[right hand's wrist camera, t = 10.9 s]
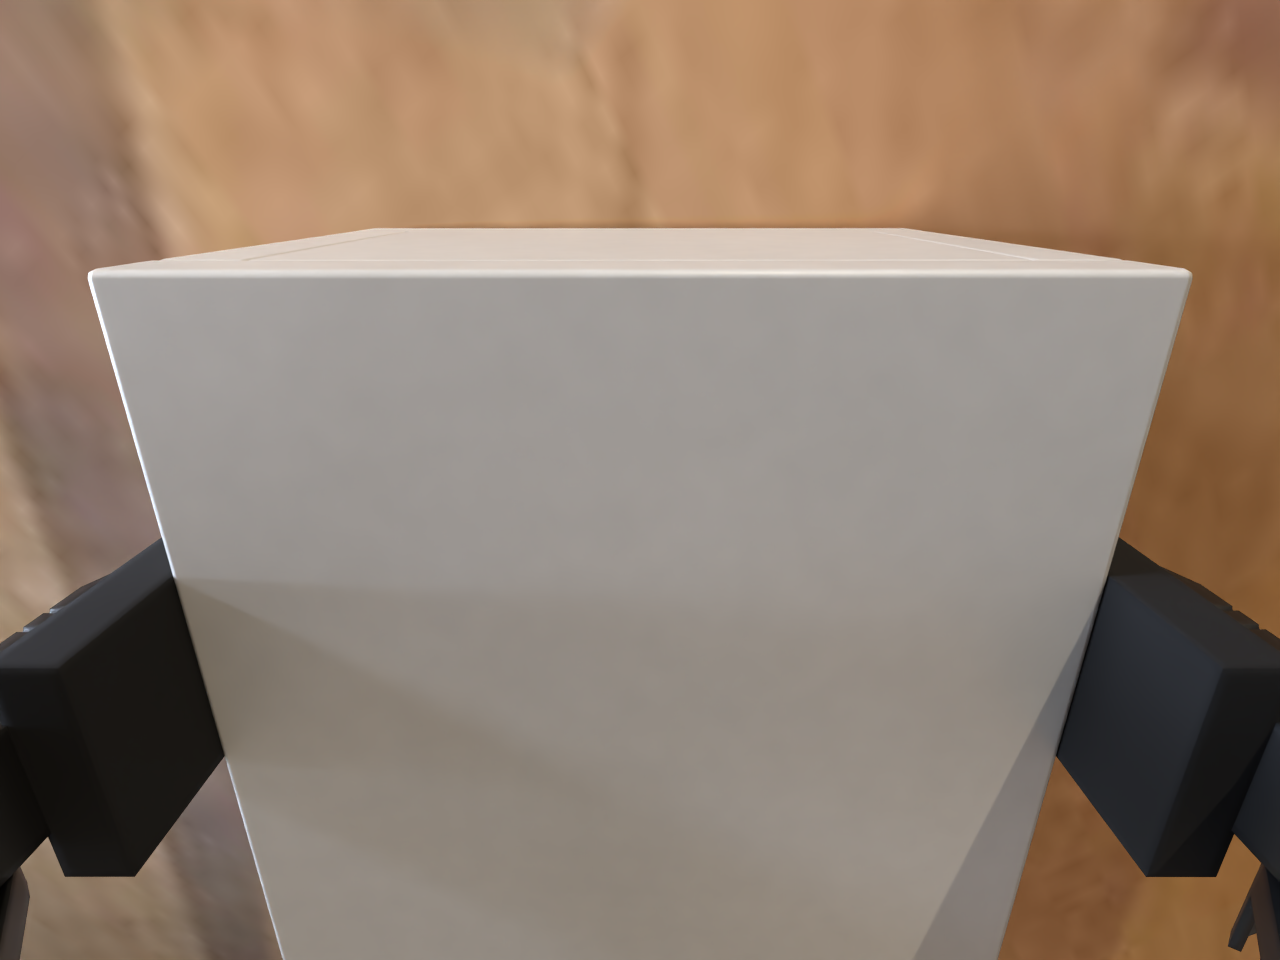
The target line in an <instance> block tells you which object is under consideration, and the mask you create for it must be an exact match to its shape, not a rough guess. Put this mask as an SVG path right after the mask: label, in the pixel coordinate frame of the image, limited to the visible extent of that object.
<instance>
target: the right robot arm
mask: <svg viewBox="0 0 1280 960" xmlns="http://www.w3.org/2000/svg"><path fill="white" fill-rule="evenodd" d="M23 629H24V630H23V632H16V633H15V634H13V635H12V636H10V637H9V638H7V639H6V640H4V641H3V642H2V643H0V960H20V954H21V948H22V942H23V936H24V929H25V923H26V917H27V911H28V905H29V899H30V895H29V890H28V885H27V881H26V879H25V877H24V874H23V872H22V870H21V868H20V866H21V865H22V864H23V863H24V862H25V860H26V859H27V858H28V857H29V856H30V855H31V854H32V853H33V852H34V851H35V850H36V849H37V848H38V846H39V845H40V844H41V843H42V842H43V841H44V840H45V839H46V838H47V837H49V840H50V842H51V844H52V847H53V849H54V852H55V854H56V856H57V859H58V861H59V863H60V866H61V868H62V871H63V873H64V875H65V877H135V876H136V874H137V873H138V872H139V870H140V869H141V868H142V866H143V865H144V864H145V862H146V861H147V859H148V858H149V857H150V855H151V854H152V853H153V851H154V850H155V849H156V847H157V846H158V845H159V843H160V842H161V841H162V839H163V838H164V837H165V835H166V834H167V833H168V831H169V830H170V829H171V827H172V826H173V825H174V823H175V822H176V820H177V819H178V818H179V816H180V815H181V814H182V812H183V811H184V810H185V808H186V807H187V806H188V804H189V803H190V802H191V800H192V799H193V798H194V796H195V795H196V794H197V792H198V791H199V790H200V788H201V787H202V786H203V784H204V783H205V781H206V780H207V779H208V777H209V776H210V775H211V773H212V772H213V771H214V769H215V768H216V767H217V765H218V764H219V763H220V761H221V760H222V759H223V757H224V756H225V755H224V752H223V748H222V745H221V741H220V738H219V734H218V731H217V727H216V724H215V720H214V717H213V714H212V710H211V707H210V703H209V700H208V696H207V693H206V689H205V686H204V682H203V679H202V675H201V672H200V668H199V665H198V661H197V658H196V654H195V651H194V647H193V644H192V640H191V637H190V633H189V630H188V626H187V623H186V619H185V616H184V612H183V609H182V605H181V602H180V598H179V595H178V591H177V588H176V584H175V581H174V577H173V574H172V570H171V567H170V563H169V560H168V556H167V553H166V549H165V546H164V542H163V539H162V538H160V539H159V540H157V541H156V542H155V543H153V544H152V545H150V546H149V547H148V548H146V549H145V550H143V551H142V552H141V553H139V554H138V555H136V556H135V557H134V558H132V559H131V560H129V561H128V562H126V563H125V564H124V565H122V566H121V567H119V568H118V569H117V570H115V571H114V572H112V573H111V574H109V575H107V576H105V577H102V578H100V579H98V580H96V581H93V582H91V583H89V584H87V585H85V586H82V587H80V588H79V589H78V590H76V591H75V592H73V593H72V594H70V595H69V596H68V597H66V598H65V599H63V600H62V601H60V602H59V603H58V604H56V605H55V606H53V607H52V608H50V612H49V613H43V614H42V615H40V616H39V617H37V618H36V619H35V620H33V621H32V622H30V623H29V624H27V625H26V626H25V627H23ZM1056 756H1057V758H1058V759H1059V760H1060V762H1061V763H1062V764H1063V766H1064V767H1065V768H1066V770H1067V771H1068V772H1069V774H1070V775H1071V776H1072V778H1073V779H1074V780H1075V782H1076V783H1077V785H1078V786H1079V787H1080V789H1081V790H1082V791H1083V793H1084V794H1085V795H1086V797H1087V798H1088V799H1089V801H1090V802H1091V803H1092V805H1093V806H1094V807H1095V809H1096V810H1097V811H1098V813H1099V814H1100V815H1101V817H1102V818H1103V819H1104V821H1105V822H1106V823H1107V825H1108V826H1109V828H1110V829H1111V830H1112V832H1113V833H1114V834H1115V836H1116V837H1117V838H1118V840H1119V841H1120V842H1121V844H1122V845H1123V846H1124V848H1125V849H1126V850H1127V852H1128V853H1129V854H1130V856H1131V857H1132V858H1133V860H1134V861H1135V862H1136V864H1137V865H1138V867H1139V868H1140V869H1141V871H1142V872H1143V873H1144V875H1145V876H1146V877H1216V876H1217V873H1218V871H1219V869H1220V866H1221V864H1222V861H1223V859H1224V857H1225V854H1226V852H1227V849H1228V847H1229V845H1230V842H1231V840H1232V838H1233V835H1234V834H1235V835H1236V836H1237V837H1238V838H1239V839H1240V840H1241V841H1242V842H1243V844H1244V845H1245V846H1246V847H1247V848H1248V849H1249V850H1250V851H1251V852H1252V853H1253V854H1254V855H1255V856H1256V857H1257V859H1258V860H1259V861H1260V862H1261V865H1260V868H1259V870H1258V872H1257V874H1256V877H1255V879H1254V881H1253V883H1252V885H1251V888H1250V890H1249V892H1248V894H1247V897H1246V899H1245V901H1244V903H1243V906H1242V908H1241V910H1240V912H1239V915H1238V917H1237V919H1236V921H1235V923H1234V926H1233V928H1232V930H1231V934H1230V939H1229V943H1228V947H1231V948H1233V949H1236V950H1238V951H1240V952H1241V951H1242V949H1243V947H1244V944H1245V942H1246V940H1247V938H1248V936H1250V935H1253V934H1255V933H1257V939H1258V945H1259V951H1260V960H1280V639H1279V638H1277V637H1276V636H1274V635H1273V634H1272V633H1270V632H1269V631H1267V630H1266V629H1259V624H1257V623H1256V622H1254V621H1253V620H1251V619H1250V618H1248V617H1247V616H1246V615H1244V614H1243V613H1241V612H1240V611H1233V610H1232V606H1231V605H1230V604H1228V603H1227V602H1225V601H1224V600H1222V599H1221V598H1220V597H1218V596H1217V595H1215V594H1214V593H1212V592H1211V591H1209V590H1208V589H1206V588H1205V587H1204V586H1202V585H1201V584H1198V583H1196V582H1194V581H1192V580H1190V579H1187V578H1185V577H1183V576H1181V575H1178V574H1176V573H1174V572H1172V571H1169V570H1167V569H1165V568H1163V567H1160V566H1159V565H1157V564H1156V563H1154V562H1153V561H1152V560H1150V559H1149V558H1147V557H1146V556H1144V555H1143V554H1142V553H1140V552H1139V551H1137V550H1136V549H1135V548H1133V547H1132V546H1130V545H1129V544H1128V543H1126V542H1125V541H1123V540H1122V539H1121V538H1119V537H1118V541H1117V544H1116V547H1115V551H1114V554H1113V558H1112V561H1111V565H1110V568H1109V572H1108V575H1107V579H1106V582H1105V586H1104V589H1103V593H1102V596H1101V600H1100V603H1099V607H1098V610H1097V614H1096V617H1095V621H1094V624H1093V628H1092V631H1091V635H1090V638H1089V642H1088V645H1087V649H1086V652H1085V656H1084V659H1083V663H1082V666H1081V670H1080V673H1079V677H1078V680H1077V684H1076V687H1075V691H1074V694H1073V698H1072V701H1071V705H1070V708H1069V712H1068V715H1067V719H1066V722H1065V726H1064V729H1063V733H1062V736H1061V740H1060V743H1059V747H1058V750H1057V753H1056Z"/></svg>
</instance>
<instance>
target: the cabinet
mask: <svg viewBox="0 0 1280 960" xmlns="http://www.w3.org/2000/svg"><path fill="white" fill-rule="evenodd" d="M88 281H89V284H90V288H91V291H92V295H93V298H94V302H95V305H96V309H97V312H98V316H99V319H100V323H101V326H102V330H103V333H104V336H105V340H106V343H107V347H108V350H109V354H110V357H111V361H112V364H113V368H114V371H115V375H116V378H117V382H118V385H119V389H120V392H121V396H122V399H123V403H124V406H125V410H126V413H127V417H128V420H129V424H130V427H131V431H132V434H133V438H134V441H135V445H136V448H137V452H138V455H139V459H140V462H141V466H142V469H143V473H144V476H145V480H146V483H147V487H148V490H149V494H150V497H151V501H152V504H153V508H154V511H155V515H156V518H157V522H158V525H159V528H160V532H161V535H162V539H163V542H164V546H165V549H166V553H167V556H168V560H169V563H170V567H171V570H172V574H173V577H174V581H175V584H176V588H177V591H178V595H179V598H180V602H181V605H182V609H183V612H184V616H185V619H186V623H187V626H188V630H189V633H190V637H191V640H192V644H193V647H194V651H195V654H196V658H197V661H198V665H199V668H200V672H201V675H202V679H203V682H204V686H205V689H206V693H207V696H208V700H209V703H210V707H211V710H212V714H213V717H214V720H215V724H216V727H217V731H218V734H219V738H220V741H221V745H222V748H223V752H224V755H225V759H226V762H227V766H228V769H229V773H230V776H231V780H232V783H233V787H234V790H235V794H236V797H237V801H238V804H239V808H240V811H241V815H242V818H243V822H244V825H245V829H246V832H247V836H248V839H249V843H250V846H251V850H252V853H253V857H254V860H255V864H256V867H257V871H258V874H259V878H260V881H261V885H262V888H263V892H264V895H265V899H266V902H267V905H268V909H269V912H270V916H271V919H272V923H273V926H274V930H275V933H276V937H277V940H278V944H279V947H280V951H281V954H282V958H283V960H997V959H998V956H999V953H1000V949H1001V946H1002V942H1003V939H1004V935H1005V932H1006V928H1007V925H1008V921H1009V918H1010V914H1011V911H1012V907H1013V904H1014V900H1015V897H1016V893H1017V890H1018V886H1019V883H1020V879H1021V876H1022V872H1023V869H1024V865H1025V862H1026V858H1027V855H1028V851H1029V848H1030V844H1031V841H1032V837H1033V834H1034V830H1035V827H1036V823H1037V820H1038V816H1039V813H1040V809H1041V806H1042V802H1043V799H1044V795H1045V792H1046V788H1047V785H1048V781H1049V778H1050V774H1051V771H1052V767H1053V764H1054V760H1055V757H1056V753H1057V750H1058V747H1059V743H1060V740H1061V736H1062V733H1063V729H1064V726H1065V722H1066V719H1067V715H1068V712H1069V708H1070V705H1071V701H1072V698H1073V694H1074V691H1075V687H1076V684H1077V680H1078V677H1079V673H1080V670H1081V666H1082V663H1083V659H1084V656H1085V652H1086V649H1087V645H1088V642H1089V638H1090V635H1091V631H1092V628H1093V624H1094V621H1095V617H1096V614H1097V610H1098V607H1099V603H1100V600H1101V596H1102V593H1103V589H1104V586H1105V582H1106V579H1107V575H1108V572H1109V568H1110V565H1111V561H1112V558H1113V554H1114V551H1115V547H1116V544H1117V541H1118V537H1119V534H1120V530H1121V527H1122V523H1123V520H1124V516H1125V513H1126V509H1127V506H1128V502H1129V499H1130V495H1131V492H1132V488H1133V485H1134V481H1135V478H1136V474H1137V471H1138V467H1139V464H1140V460H1141V457H1142V453H1143V450H1144V446H1145V443H1146V439H1147V436H1148V432H1149V429H1150V425H1151V422H1152V418H1153V415H1154V411H1155V408H1156V404H1157V401H1158V397H1159V394H1160V390H1161V387H1162V383H1163V380H1164V376H1165V373H1166V369H1167V366H1168V362H1169V359H1170V355H1171V352H1172V348H1173V345H1174V341H1175V338H1176V335H1177V331H1178V328H1179V324H1180V321H1181V317H1182V314H1183V310H1184V307H1185V303H1186V300H1187V296H1188V293H1189V289H1190V286H1191V282H1192V273H1191V272H1190V271H1188V270H1186V269H1184V268H1177V267H1170V266H1163V265H1156V264H1149V263H1142V262H1135V261H1128V260H1121V259H1116V258H1109V257H1102V256H1095V255H1088V254H1081V253H1074V252H1067V251H1060V250H1053V249H1046V248H1039V247H1032V246H1025V245H1018V244H1011V243H1004V242H997V241H990V240H983V239H976V238H969V237H962V236H955V235H948V234H941V233H934V232H927V231H921V230H913V229H906V228H374V229H367V230H360V231H355V232H348V233H341V234H334V235H327V236H320V237H313V238H306V239H299V240H292V241H286V242H279V243H272V244H265V245H258V246H251V247H244V248H237V249H230V250H223V251H216V252H209V253H202V254H195V255H188V256H181V257H175V258H168V259H162V260H160V261H147V262H140V263H133V264H126V265H119V266H112V267H105V268H98V269H95V270H93V271H91V272H90V273H89V274H88Z"/></svg>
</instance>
